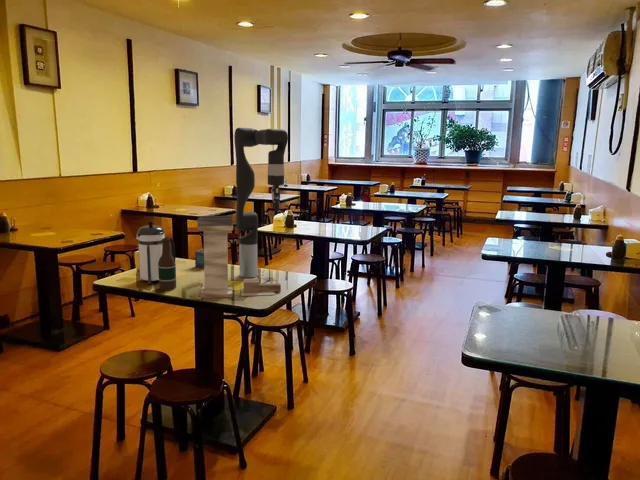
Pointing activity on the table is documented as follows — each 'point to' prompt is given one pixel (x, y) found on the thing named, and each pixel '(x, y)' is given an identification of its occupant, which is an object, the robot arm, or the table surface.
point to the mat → (256, 293)
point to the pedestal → (215, 255)
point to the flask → (199, 258)
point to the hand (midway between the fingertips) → (275, 209)
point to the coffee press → (151, 251)
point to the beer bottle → (166, 267)
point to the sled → (259, 286)
